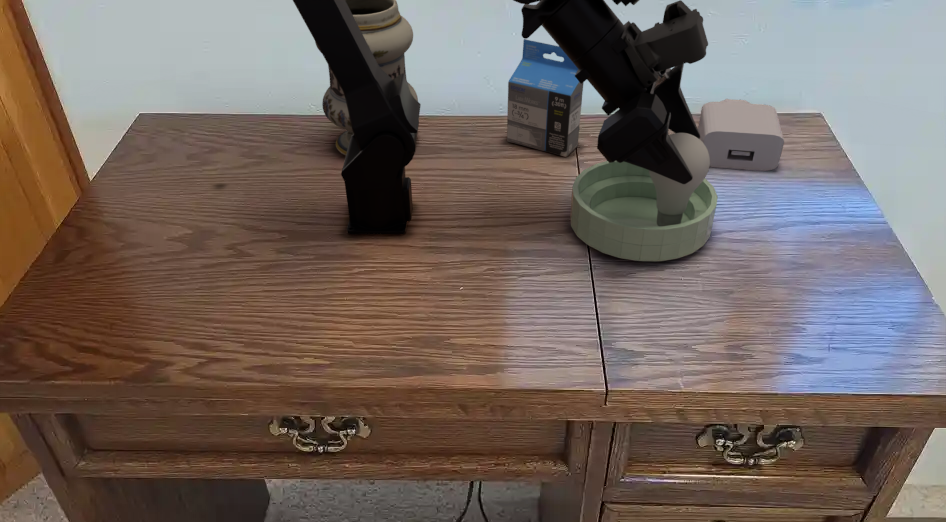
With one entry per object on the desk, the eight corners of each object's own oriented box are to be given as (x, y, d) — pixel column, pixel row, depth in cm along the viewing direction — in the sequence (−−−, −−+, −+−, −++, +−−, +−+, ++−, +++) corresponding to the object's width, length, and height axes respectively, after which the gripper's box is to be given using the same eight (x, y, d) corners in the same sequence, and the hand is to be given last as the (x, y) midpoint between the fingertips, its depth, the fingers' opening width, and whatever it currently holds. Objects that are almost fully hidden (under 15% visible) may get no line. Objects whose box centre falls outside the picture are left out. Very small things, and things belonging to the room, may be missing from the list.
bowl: (574, 265, 83) (577, 228, 80) (566, 192, 94) (568, 157, 91) (722, 267, 82) (731, 229, 79) (695, 192, 94) (702, 158, 91)
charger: (764, 119, 109) (776, 171, 97) (695, 115, 110) (699, 166, 99) (772, 86, 106) (785, 135, 94) (701, 81, 107) (706, 130, 96)
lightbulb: (632, 238, 85) (646, 143, 78) (645, 210, 90) (659, 118, 83) (690, 249, 83) (709, 154, 76) (700, 221, 88) (719, 127, 81)
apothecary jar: (350, 174, 98) (332, 25, 87) (314, 137, 106) (293, -4, 95) (436, 150, 103) (430, 6, 91) (395, 116, 111) (385, -20, 99)
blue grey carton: (505, 142, 104) (506, 48, 96) (519, 131, 107) (522, 38, 99) (566, 158, 101) (573, 61, 93) (579, 146, 103) (587, 51, 95)
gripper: (650, 15, 64) (762, 157, 69) (674, -46, 78) (766, 76, 83) (550, 98, 71) (657, 222, 76) (588, 28, 85) (677, 137, 90)
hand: (692, 159), depth 81 cm, fingers open, 9 cm apart
